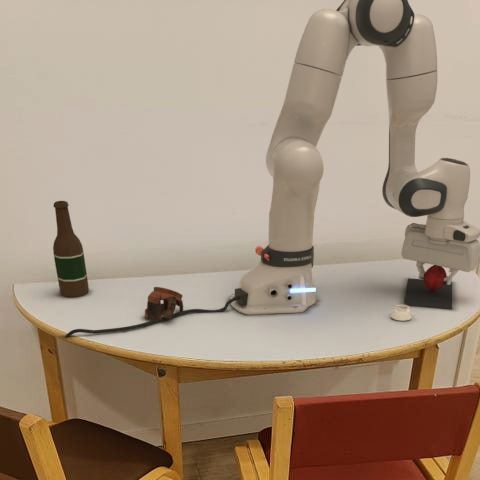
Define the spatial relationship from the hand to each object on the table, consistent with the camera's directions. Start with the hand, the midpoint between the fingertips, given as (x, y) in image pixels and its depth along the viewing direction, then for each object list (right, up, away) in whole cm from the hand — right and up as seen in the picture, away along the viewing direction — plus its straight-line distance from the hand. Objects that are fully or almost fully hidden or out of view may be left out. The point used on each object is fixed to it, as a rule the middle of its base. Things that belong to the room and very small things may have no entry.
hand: (434, 281), depth 159 cm
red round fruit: (0, -3, +2) cm, 3 cm away
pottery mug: (-70, -11, -10) cm, 72 cm away
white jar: (-12, -12, -12) cm, 21 cm away
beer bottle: (-97, -2, +6) cm, 97 cm away
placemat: (-1, -3, +3) cm, 4 cm away
